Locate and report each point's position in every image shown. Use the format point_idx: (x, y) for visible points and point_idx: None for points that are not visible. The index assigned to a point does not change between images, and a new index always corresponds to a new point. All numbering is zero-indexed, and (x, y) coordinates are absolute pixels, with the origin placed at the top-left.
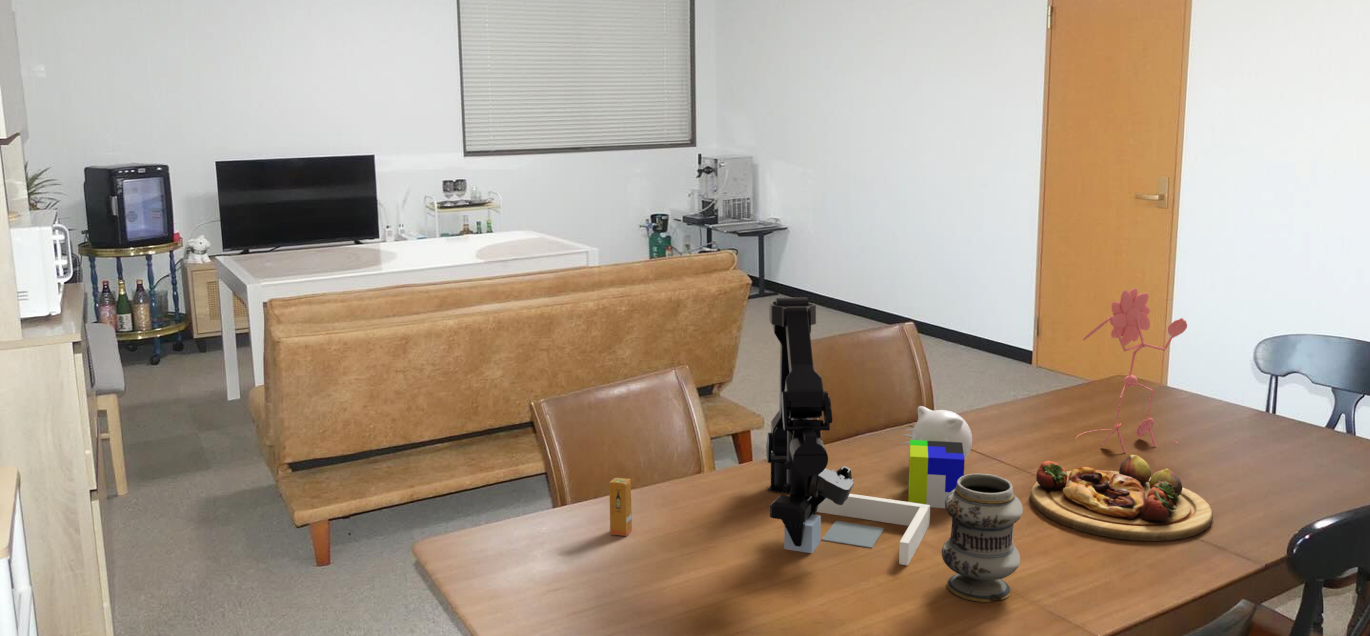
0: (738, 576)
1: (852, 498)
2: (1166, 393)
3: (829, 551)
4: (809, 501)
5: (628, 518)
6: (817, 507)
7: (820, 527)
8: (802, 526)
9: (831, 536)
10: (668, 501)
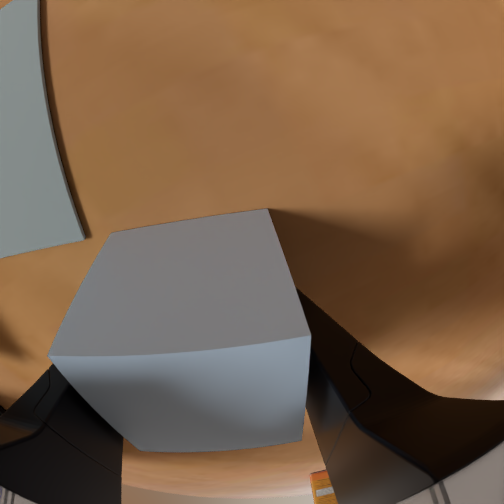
0: (480, 316)
1: None
2: None
3: (186, 134)
4: (66, 482)
5: (330, 491)
6: (19, 408)
7: (82, 287)
8: (397, 372)
9: (32, 217)
10: (181, 484)
